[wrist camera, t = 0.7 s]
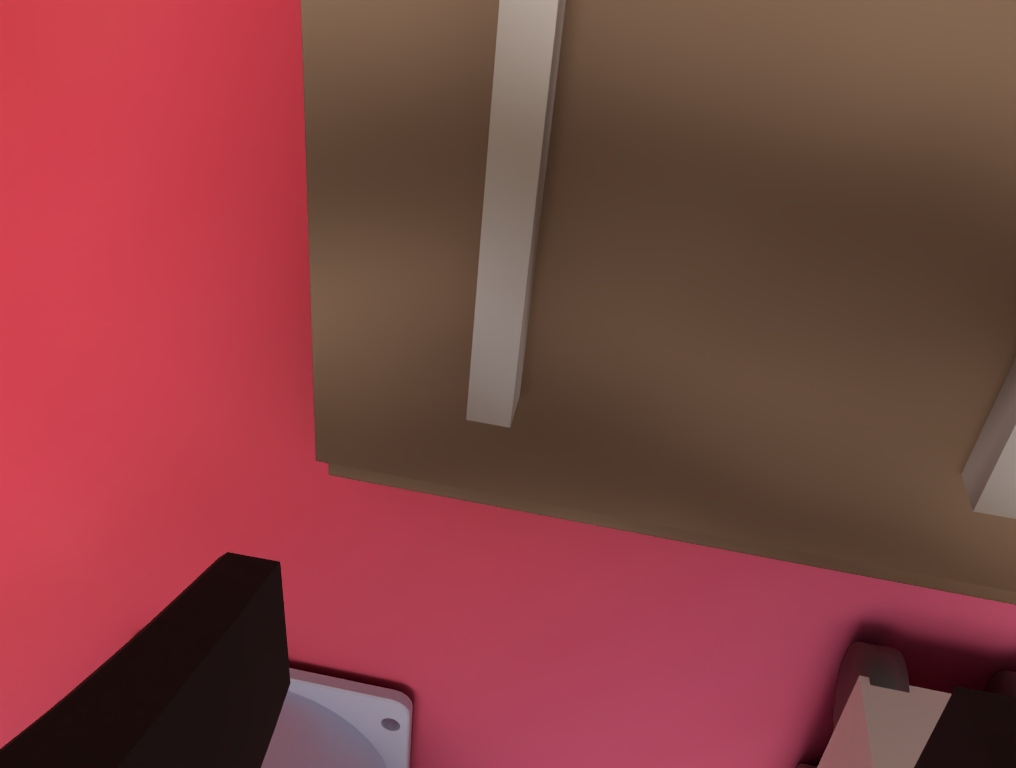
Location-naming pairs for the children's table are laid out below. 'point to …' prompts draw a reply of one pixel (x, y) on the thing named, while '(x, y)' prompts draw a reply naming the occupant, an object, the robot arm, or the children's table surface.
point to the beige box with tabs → (885, 710)
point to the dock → (677, 269)
